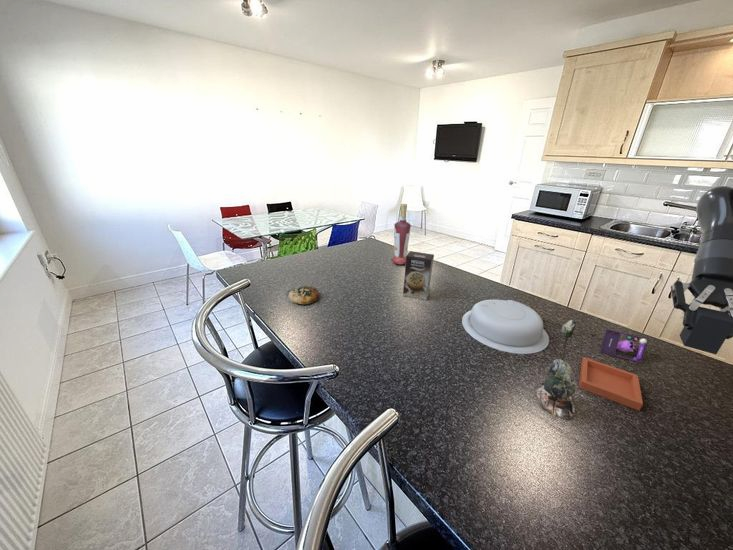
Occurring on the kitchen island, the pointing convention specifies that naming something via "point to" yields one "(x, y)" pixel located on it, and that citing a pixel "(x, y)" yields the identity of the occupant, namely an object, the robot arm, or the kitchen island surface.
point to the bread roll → (304, 295)
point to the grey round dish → (506, 326)
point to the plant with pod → (559, 383)
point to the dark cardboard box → (418, 275)
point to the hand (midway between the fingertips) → (708, 332)
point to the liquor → (401, 237)
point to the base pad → (611, 383)
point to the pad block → (708, 330)
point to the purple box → (622, 344)
